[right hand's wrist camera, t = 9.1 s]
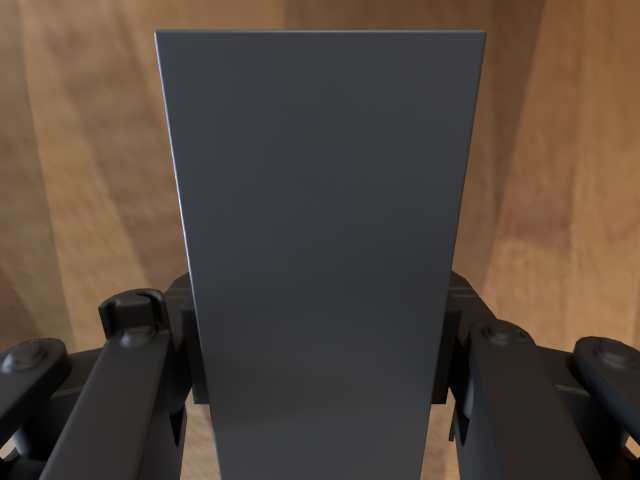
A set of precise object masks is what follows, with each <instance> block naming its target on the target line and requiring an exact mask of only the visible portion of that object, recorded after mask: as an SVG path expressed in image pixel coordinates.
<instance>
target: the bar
mask: <svg viewBox="0 0 640 480" xmlns="http://www.w3.org/2000/svg"><path fill="white" fill-rule="evenodd" d="M486 35H487V33H486V31H485V30H156V31H155V32H154V37H155V43H156V50H157V57H158V63H159V70H160V77H161V84H162V90H163V97H164V104H165V110H166V117H167V124H168V130H169V137H170V144H171V151H172V157H173V164H174V171H175V177H176V184H177V191H178V198H179V204H180V211H181V218H182V224H183V231H184V238H185V244H186V251H187V258H188V265H189V271H190V278H191V285H192V291H193V298H194V305H195V312H196V318H197V325H198V332H199V338H200V345H201V352H202V358H203V365H204V372H205V379H206V385H207V392H208V399H209V405H210V412H211V419H212V426H213V432H214V439H215V446H216V452H217V459H218V466H219V472H220V479H221V480H420V476H421V469H422V462H423V456H424V449H425V442H426V436H427V429H428V422H429V416H430V409H431V402H432V396H433V389H434V382H435V376H436V369H437V362H438V356H439V349H440V342H441V336H442V329H443V322H444V315H445V309H446V302H447V295H448V289H449V282H450V275H451V269H452V262H453V255H454V249H455V242H456V235H457V229H458V222H459V215H460V209H461V202H462V195H463V189H464V182H465V175H466V169H467V162H468V155H469V149H470V142H471V135H472V129H473V122H474V115H475V109H476V102H477V95H478V89H479V82H480V75H481V69H482V62H483V55H484V49H485V42H486Z"/></svg>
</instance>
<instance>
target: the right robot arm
mask: <svg viewBox="0 0 640 480" xmlns="http://www.w3.org/2000/svg"><path fill="white" fill-rule="evenodd" d="M98 310H99V314H100V317H101V321H102V325H103V328H104V332H105V336H106V339H107V341H106V343H105V345H104V347H102V348H98V349H93V350H88V351H83V352H78V353H73V354H68V352H67V349H66V346H65V343H63V342H62V341H61V340H59V339H54V338H43V339H34V340H30V341H26V342H23V343H20V344H18V345H17V346H15V347H12V348H10V349H8V350H6V351H4V352H3V353H1V354H0V449H1V448H2V447H3V446H4V445H5V443H6V442H7V441H8V440H9V439H10V438H11V437H12V439H13V441H14V444H15V446H16V447H15V448H14V449H13V451H12V452H11V453H10V454H9V455H8V456H6V457H5V458H4V459H2V458H1V457H0V480H180V474H181V466H182V457H183V449H184V441H185V432H186V424H187V413H186V407H185V401H186V398H187V396H188V394H189V392H190V389H191V387H192V393H193V399H194V404H209V399H208V392H207V385H206V379H205V372H204V365H203V358H202V352H201V345H200V338H199V332H198V325H197V318H196V312H195V305H194V298H193V291H192V285H191V278H190V272H187V273H186V274H184V275H182V276H181V277H179V278H178V279H176V280H175V281H174V282H173V283H172V285H171V286H170V287H169V288H168V291H166V292H165V293H164V294H163V293H162V292H161V291H159V290H155V289H151V288H147V289H135V290H129V291H125V292H122V293H120V294H117V295H114V296H112V297H111V298H109V299H107V300H105V301H104V302H103V303H102V304H101V305H100V306H99V307H98ZM449 387H450V389H451V392H452V394H453V396H454V398H455V401H456V402H455V407H454V412H453V418H452V423H451V428H450V434H449V441H452V442H453V441H454V436H455V440H456V448H457V457H458V465H459V473H460V480H640V457H639V458H637V457H636V456H635V455H634V454H633V453H631V451H630V450H629V449H628V448H627V447H626V446H625V444H626V442H627V440H628V438H629V435H630V436H631V437H632V438H633V439H634V440H635V441H636V443H637V444H638V445H639V446H640V352H639V351H638V350H636V349H635V348H632V347H630V346H628V345H626V344H624V343H622V342H620V341H617V340H612V339H610V338H604V337H594V336H590V337H583V338H581V339H579V340H578V341H577V342H576V344H575V347H574V350H573V353H570V352H565V351H560V350H555V349H550V348H545V347H541V346H537V345H536V344H535V342H534V340H533V339H532V337H531V336H530V335H529V334H528V332H526V331H525V330H523V329H522V328H520V327H519V326H517V325H514V324H512V323H510V322H507V321H503V320H499V319H497V318H496V317H495V316H494V314H493V313H492V312H491V310H490V309H489V308H488V307H487V305H486V304H485V303H484V302H483V300H482V299H481V298H480V297H479V295H478V294H477V293H476V292H475V290H473V288H472V287H471V285H470V284H469V283H468V281H467V280H466V279H465V278H463V277H462V276H460V275H458V274H457V273H455V272H453V271H451V275H450V282H449V289H448V295H447V302H446V309H445V315H444V322H443V329H442V336H441V342H440V349H439V356H438V362H437V369H436V376H435V382H434V389H433V396H432V402H431V404H446V400H447V394H448V389H449Z"/></svg>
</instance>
